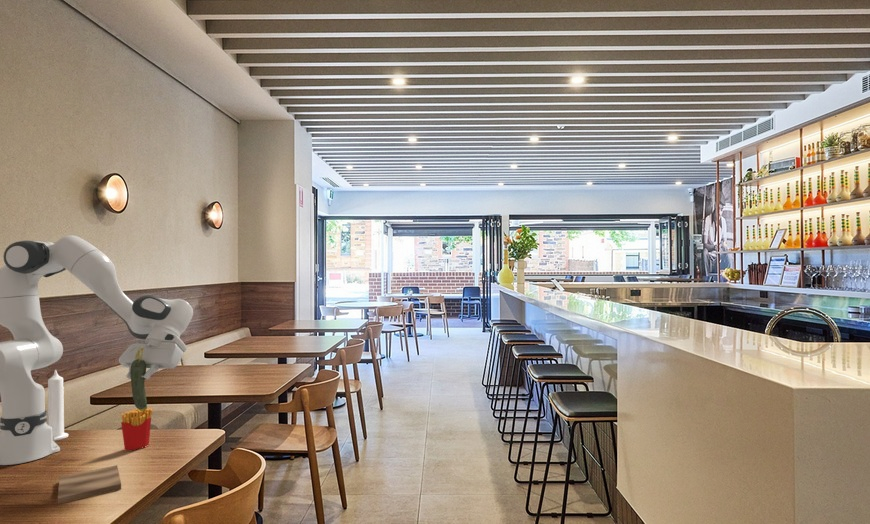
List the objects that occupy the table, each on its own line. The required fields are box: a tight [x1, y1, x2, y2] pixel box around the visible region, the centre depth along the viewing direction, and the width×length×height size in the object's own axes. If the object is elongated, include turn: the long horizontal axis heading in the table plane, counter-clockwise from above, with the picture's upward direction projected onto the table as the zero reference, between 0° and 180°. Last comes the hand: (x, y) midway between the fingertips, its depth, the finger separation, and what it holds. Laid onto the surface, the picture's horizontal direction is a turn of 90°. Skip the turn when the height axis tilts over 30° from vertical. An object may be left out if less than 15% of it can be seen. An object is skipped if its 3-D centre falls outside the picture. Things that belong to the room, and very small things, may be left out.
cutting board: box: [57, 464, 122, 505], centre depth 141 cm, size 17×14×2 cm
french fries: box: [120, 407, 153, 451], centre depth 172 cm, size 9×4×13 cm, turn 131°
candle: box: [47, 369, 69, 442], centre depth 184 cm, size 7×7×25 cm
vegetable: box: [130, 347, 148, 411], centre depth 156 cm, size 4×4×20 cm
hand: (136, 378), depth 155 cm, fingers closed on vegetable, 4 cm apart
